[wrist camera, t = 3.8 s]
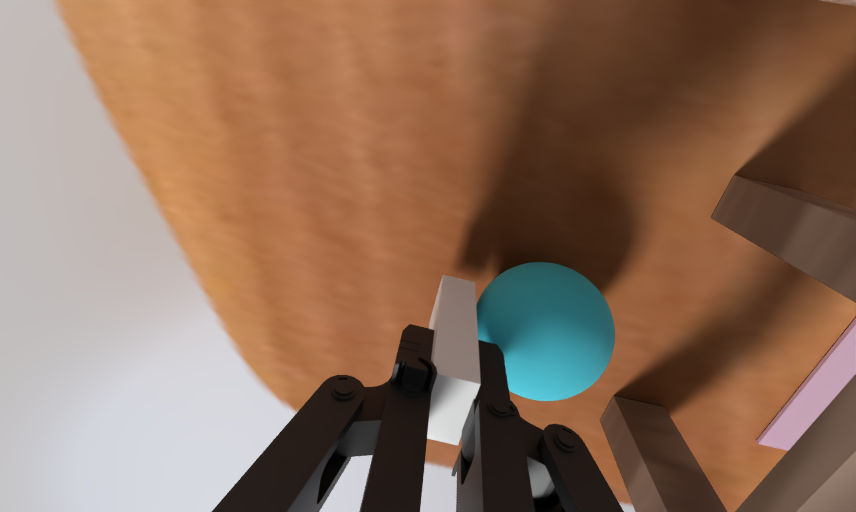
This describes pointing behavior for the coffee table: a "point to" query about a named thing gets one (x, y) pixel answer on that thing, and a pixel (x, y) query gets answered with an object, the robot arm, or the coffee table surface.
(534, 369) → the ball
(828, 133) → the coffee table surface
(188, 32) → the coffee table surface
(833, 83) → the coffee table surface
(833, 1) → the lidded jar
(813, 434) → the bridge
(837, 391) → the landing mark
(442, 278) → the robot arm
